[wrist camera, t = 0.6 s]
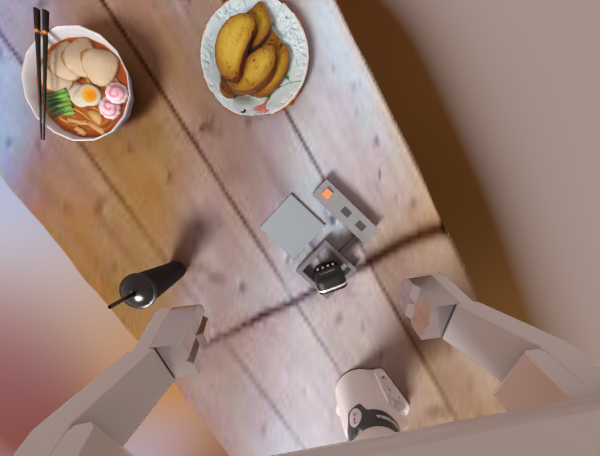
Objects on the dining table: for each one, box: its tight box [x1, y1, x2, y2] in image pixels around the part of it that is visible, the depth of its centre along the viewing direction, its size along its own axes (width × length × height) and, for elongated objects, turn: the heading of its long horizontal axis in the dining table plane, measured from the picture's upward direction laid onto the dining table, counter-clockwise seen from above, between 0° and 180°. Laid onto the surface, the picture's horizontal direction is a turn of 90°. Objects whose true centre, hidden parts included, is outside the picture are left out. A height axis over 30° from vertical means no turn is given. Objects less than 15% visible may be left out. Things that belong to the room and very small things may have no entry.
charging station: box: [297, 179, 379, 299], centre depth 54 cm, size 22×22×4 cm
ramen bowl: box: [21, 7, 134, 141], centre depth 47 cm, size 25×23×8 cm
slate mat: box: [260, 195, 325, 259], centre depth 55 cm, size 12×12×1 cm
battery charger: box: [314, 261, 347, 295], centre depth 51 cm, size 7×4×11 cm, turn 111°
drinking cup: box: [108, 261, 185, 309], centre depth 47 cm, size 8×8×20 cm
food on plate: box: [200, 0, 309, 116], centre depth 47 cm, size 25×25×7 cm
